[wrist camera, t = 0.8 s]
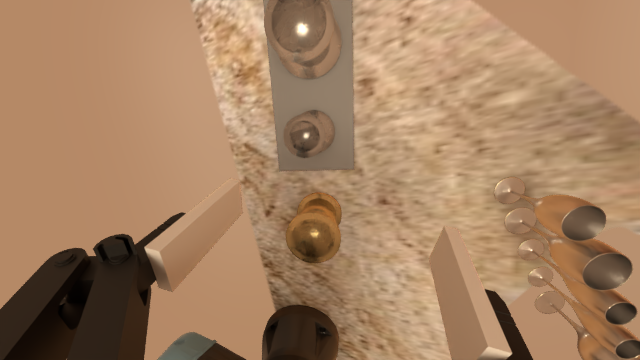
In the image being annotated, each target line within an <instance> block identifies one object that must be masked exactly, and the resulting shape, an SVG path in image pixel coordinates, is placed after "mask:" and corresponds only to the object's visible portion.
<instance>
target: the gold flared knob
mask: <svg viewBox="0 0 640 360" xmlns="http://www.w3.org/2000/svg"><path fill="white" fill-rule="evenodd" d="M340 221H341V208H340V205H339V203H338V202H337V201H336V199H335V198H333V197H332V196H330V195H328V194H326V193H320V192H317V193H312V194H309V195H308V196H306V197H305V198H304V199H303V200H302V201H301V203H300V205H299V207H298V210H297V216H296V217H295V218H293V220H292V221H291V222H290V224H289V226H288V228H287V231H286V242H287V245H288V247H289V249H290V251H291V252H292V253H293V254H294V255H295V256H296V257H297V258H299V259H301V260H303V261H305V262H309V263H321V262H325V261H327V260H329V259H331V258H332V257H333V256H334V255H335V254H336V253H337V251H338V249H339V247H340V242H341V234H340V230H339V227H338V225H339V224H340Z"/></svg>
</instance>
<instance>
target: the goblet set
mask: <svg viewBox="0 0 640 360" xmlns="http://www.w3.org/2000/svg"><path fill="white" fill-rule="evenodd" d="M524 191H525V186H524V183H523V182H522V181H521V180H520V179H519V178H516V177H508V178H505V179H503V180H501V181H500V182H499V183H498V184H497V185H496V187H495V190H494V195H495V198H496V199H497V200H498V201H499V202H501V203H504V204H510V203H514V202H516V201H518V200H519V199H520V198H523V199H525V200H527V201H528V202H529V203H531V204H532V205H533V207H534V212H533V211H532V210H531V209H529V208H525V207H521V208H517V209H514V210H512V211H511V212H510V213H509V214H508V215H507V216H506V218H505V227H506V229H507V230H508V231H509V232H511V233H514V234H523V233H526V232H528V231H529V230H531V229H532V230H533V231H535V232H537V233H538V234H540V235H541V236H542V237H544V238H545V239H546V241H547V242H548V246H549V252H550V255H551V257H552V259H553V260H554V262H555V263H556V264H557V266H556V265H554V264H553V263H551V262H550V261H548V260H547V259H545V258H544V257H542V256H541V254H542V253H543V250H544V246H543V244H542V242H540V241H539V240H536V239H529V240H526V241H524V242H522V243H521V244H520V246H519V247H518V255H519V256H520V257H521V258H522V259H525V260H533V259H536V258H538V257H540V258H541V259H543V260H544V261H545V262H547V263H548V264H549V265H550V266H552V267H553V268H554V269H555V270H556V271H557V272H558V273H559V274H560V275H561V277H562V278H563V280H564V282H565V283H566V286H567V288H568V289H569V291H570V292H571V294H572V295H573V296H574V297H575V298H576V299H577V300H578V301H579V302H580V303H581V304H579V303H577V302H575V301H574V300H572V299H570V298H569V297H568V296H566V295H565V294H563V293H562V292H561V291H559V290H558V289H557V288H555V287H554V286H553V285H552V284H550V282H551V281H552V279H553V273H552V271H551V270H550V269H549V268H546V267H538V268H535V269H533V270H532V271H531V272H530V273H529V275H528V281H529V283H530V284H531V285H533V286H537V287H540V286H545V285H547V284H548V285H549V286H551V287H552V288H553V289H554V290H555V291H556V292H555V291H548V292H545V293H542V294H541V295H539V296H538V297H537V299H536V301H535V307H536V309H537V310H538V311H540V312H542V313H545V314H550V313H555V312H557V311H558V312H559V313H560V314H561V315H562V316H563V317H564V318H565V319H567V321H568V322H569V323H570V324H571V325H572V326H573V327H574V329H575V330H576V332H577V334H578V342H577V348H578V352H579V354H580V356H581V358H582V359H583V360H640V340H639V339H638V338H637V337H636V336H635V335H634V334H633V333H632V332H631V331H630V330H628V329H627V328H626V327H625V326H623V324H627V323H629V322H631V321H632V320H633V319H634V318H635V317H636V315H637V308H636V307H635V305H634V304H632V303H631V302H630V301H629V300H628V299H627V298H625V297H624V296H623V295H622V294H620V293H619V292H618V291H616V290H615V289H614V288H617V287H619V286H621V285H622V284H624V283H625V282H626V281H627V280H628V279H629V278H630V276H631V274H632V271H633V265H632V262H631V261H630V259H629V258H628V257H627V256H625V255H624V254H622V253H621V252H619V251H618V250H616V249H615V248H613V247H611V246H609V245H608V244H605V243H603V242H601V241H599V240H596V239H593V238H594V237H595V236H597V235H598V234H599V233H600V232H601V231H602V230H603V228H604V227H605V224H606V215H605V213H604V211H603V210H602V209H601V208H599V207H597V206H595V205H594V204H592V203H590V202H588V201H585V200H583V199H580V198H577V197H573V196H569V195H549V196H545V197H543V198H539V199H536V198H531V197H527V196H524V195H523V194H524ZM536 218H537V219H538V221H539V222H540V223H541V224H542V225H543V226H544V227H545V228H547V229H548V230H550V231H551V232H553V233H555V234H557V235H558V236H553V235H549V234H546V233H544V232H542V231H540V230H538V229H536V228H534V225H535V223H536ZM565 300H566V301H567V302H568V303H569V304H570V305H571V306H572V308H573V309H574V311H575V313H576V315H577V316H578V318H579V320H580V322H581V323H582V325H583V327H584V328H583V327H581V326H579V325H577V324H576V323H574V322H573V321H572V320H571V319H569V318H568V317H567V316H566V315H565V314H563V313H562V312H561V311H560V309H561V308H562V307H563V306H564V303H565Z"/></svg>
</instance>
